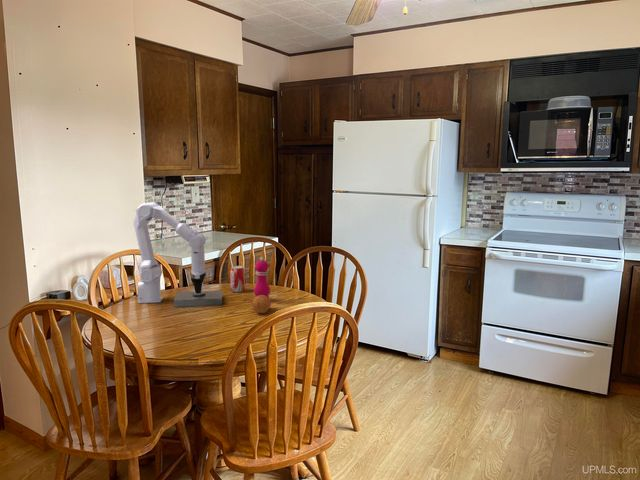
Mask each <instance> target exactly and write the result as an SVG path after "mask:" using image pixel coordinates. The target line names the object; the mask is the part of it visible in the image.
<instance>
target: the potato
mask: <svg viewBox="0 0 640 480" xmlns="http://www.w3.org/2000/svg"><path fill="white" fill-rule="evenodd" d="M255 297H256V296H255ZM255 297H254V299H253V301H252V308H253V310H254V312H255V313H257V314H266V313H268V311H269V308H270V307H271V306H272V305H271V304H272V302H271V299H270V297H269V298H268V297H267V296H265V295H258V296H257V297H256V298H255Z"/></svg>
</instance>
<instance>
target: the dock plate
mask: <svg viewBox="0 0 640 480" xmlns="http://www.w3.org/2000/svg"><path fill="white" fill-rule="evenodd" d="M223 298H224V297H223V290H203V297H194V291H178V292H177V294H176V295H175V297H174V299H173V305H174V306H173V307H174V308H184V307H205V306H206V307H209V306H210V307H211V306H213V307H214V306H222V304H223Z"/></svg>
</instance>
